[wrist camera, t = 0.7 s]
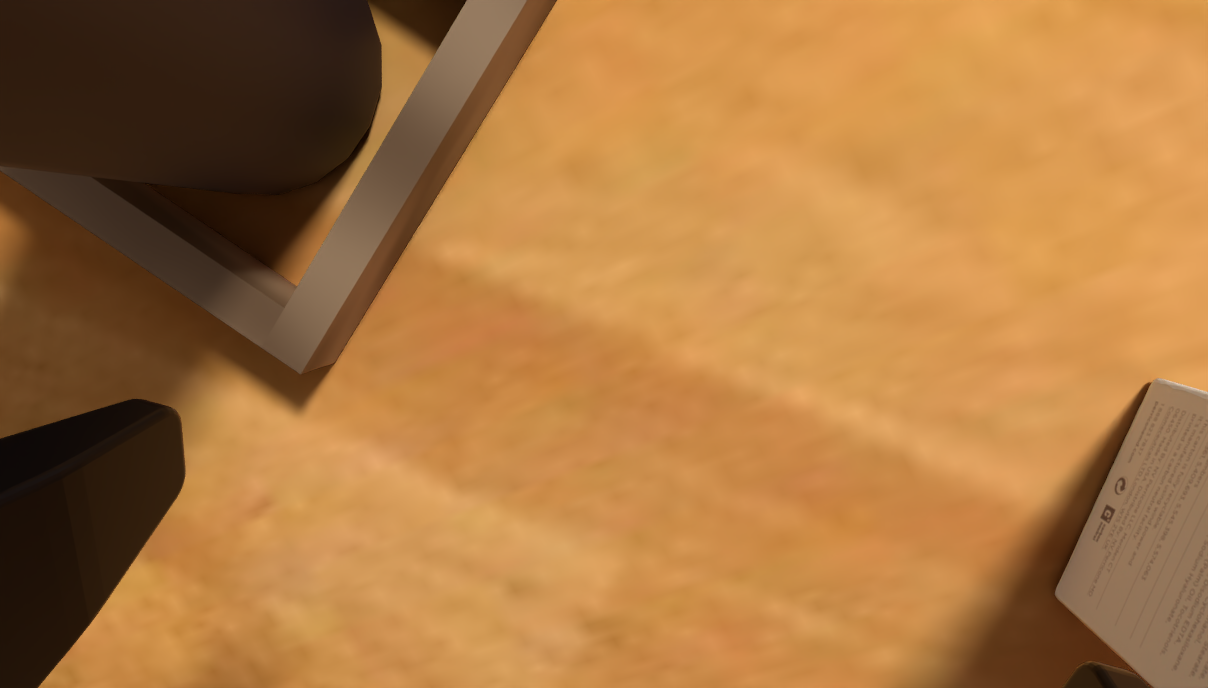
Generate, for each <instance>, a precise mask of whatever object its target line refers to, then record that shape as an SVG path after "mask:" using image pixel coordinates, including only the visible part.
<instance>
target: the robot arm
mask: <svg viewBox="0 0 1208 688" xmlns="http://www.w3.org/2000/svg"><path fill="white" fill-rule="evenodd" d="M184 479H185V458H184V447H183V436H182V424H181V418H180V416H179V414H178V412H177V411H176V410H174V409H173V408H171V407H168V406H165V405H161V404H158V403H154V402H150V401H147V400H142V399H131V400H127V401H124V402H120V403H117V404H114V405H111V406H107V407H104V408H101V409H97V410H94V411H91V412H87V413H84V414H81V415H77V416H74V417H71V418H67V419H64V420H61V421H57V422H54V423H51V424H47V425H44V426H41V427H37V428H34V429H31V430H28V431H24V432H21V433H18V434H14V435H11V436H8V437H4V438H1V439H0V688H38V687H39V686H40V684H41V683H42V682H43V681H44V680H45V678H46V677H47V676H48V675H49V674H50V672H51V671H52V670H53V669H54V668H55V666H56V665H57V664H58V663H59V662H60V660H61V659H62V658H63V657H64V656H65V654H66V653H67V652H68V651H69V650H70V648H71V647H72V646H73V645H74V644H75V642H76V641H77V640H78V639H79V637H80V636H81V635H82V634H83V632H84V631H85V630H86V628H87V627H88V626H89V625H90V623H91V622H92V621H93V619H94V618H95V617H96V615H97V614H98V612H99V611H100V610H101V608H102V607H103V605H104V604H105V603H106V601H107V600H108V598H109V597H110V595H111V594H112V592H113V591H114V589H115V588H116V587H117V585H118V584H119V582H120V581H121V579H122V578H123V576H124V575H125V573H126V572H127V570H128V569H129V567H130V566H131V564H132V563H133V561H134V560H135V559H136V557H137V556H138V554H139V553H140V551H141V550H142V548H143V547H144V545H145V544H146V542H147V541H148V539H149V538H150V536H151V535H152V533H153V532H154V531H155V529H156V528H157V526H158V525H159V523H160V522H161V520H162V519H163V517H164V516H165V514H166V513H167V511H168V510H169V508H170V507H171V506H172V504H173V503H174V501H175V500H176V498H177V496H178V495H179V493H180V491H181V489H182V486H183V483H184ZM1062 688H1150V687H1149V686H1148V685H1147V684H1146V683H1145V682H1144V681H1143V680H1142V679H1141V678H1140V677H1139V676H1138V675H1136V674H1134V673H1132V672H1130V671H1128V670H1125V669H1121V668H1117V667H1114V666H1110V665H1107V664H1103V663H1099V662H1095V661H1087V662H1084V663H1082V664H1080V665H1079V666H1078V667H1077V668H1076V669H1075V670H1074V672H1073V673H1072V675H1071V676H1070V677H1069V679H1068V680H1067V681H1066V683H1065V684H1064V685H1063V687H1062Z"/></svg>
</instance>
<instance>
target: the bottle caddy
mask: <svg viewBox="0 0 1208 688" xmlns="http://www.w3.org/2000/svg"><path fill="white" fill-rule="evenodd" d="M555 2H556V0H467V1H466V3H465V4H464V6H463V8H462V10H461V11H460V13H459V15H458V16H457V18H456V20H455V21H454V23H453V25H452V26H451V28H450V30H449V31H448V33H447V35H446V37H445V38H444V40H443V42H442V43H441V45H440V47H439V48H438V50H437V52H436V53H435V55H434V57H433V58H432V60H431V62H430V64H429V65H428V67H427V69H426V70H425V72H424V74H423V75H422V77H421V79H420V80H419V82H418V84H417V85H416V87H415V89H414V91H413V92H412V94H411V96H410V97H409V99H408V101H407V102H406V104H405V106H404V107H403V109H402V111H401V112H400V114H399V116H398V118H397V119H396V121H395V123H394V124H393V126H392V128H391V129H390V131H389V133H388V134H387V136H386V138H385V139H384V141H383V143H382V145H381V146H380V148H379V150H378V151H377V153H376V155H375V156H374V158H373V160H372V161H371V163H370V165H369V166H368V168H367V170H366V172H365V173H364V175H363V177H362V178H361V180H360V182H359V183H358V185H357V187H356V188H355V190H354V192H353V193H352V195H351V197H350V198H349V200H348V202H347V204H346V205H345V207H344V209H343V210H342V212H341V214H340V215H339V217H338V219H337V220H336V222H335V224H334V225H333V227H332V229H331V231H330V232H329V234H328V236H327V237H326V239H325V241H324V242H323V244H322V246H321V247H320V249H319V251H318V252H317V254H316V256H315V258H314V259H313V261H312V263H311V264H310V266H309V268H308V269H307V271H306V273H305V274H304V276H303V278H302V279H301V281H300V283H299V285H298V286H295V285H294V284H292V283H291V282H289V281H288V280H286V279H285V278H283V277H282V276H280V275H279V274H277V273H276V272H275V271H273V270H272V269H270V268H269V267H267V266H266V265H264V264H263V263H261V262H260V261H258V260H257V259H255V258H254V257H252V256H251V255H249V254H248V253H246V252H245V251H244V250H242V249H241V248H239V247H238V246H236V245H235V244H233V243H232V242H230V241H229V240H227V239H226V238H224V237H223V236H221V235H220V234H218V233H217V232H215V231H214V230H212V229H211V228H210V227H208V226H207V225H205V224H204V223H202V222H201V221H199V220H198V219H196V218H195V217H193V216H192V215H190V214H189V213H187V212H186V211H184V210H183V209H181V208H180V207H179V206H177V205H176V204H174V203H173V202H171V201H170V200H168V199H167V198H165V197H164V196H162V195H161V194H159V193H158V192H156V191H155V190H153V189H152V188H150V187H149V186H147V185H146V184H145V183H141V182H132V181H124V180H115V179H106V178H98V177H89V176H80V175H72V174H63V173H55V172H46V171H37V170H29V169H20V168H11V167H3V166H0V171H1V172H3V173H4V174H6V175H7V176H9V177H10V178H12V179H13V180H15V181H16V182H18V183H19V184H21V185H22V186H24V187H25V188H26V189H28V190H29V191H31V192H32V193H34V194H35V195H37V196H38V197H40V198H41V199H43V200H44V201H46V202H47V203H49V204H50V205H52V206H53V207H54V208H56V209H57V210H59V211H60V212H62V213H63V214H65V215H66V216H68V217H69V218H71V219H72V220H74V221H75V222H77V223H78V224H80V225H81V226H82V227H84V228H85V229H87V230H88V231H90V232H91V233H93V234H94V235H96V236H97V237H99V238H100V239H102V240H103V241H105V242H106V243H108V244H109V245H111V246H112V247H113V248H115V249H116V250H118V251H119V252H121V253H122V254H124V255H125V256H127V257H128V258H130V259H131V260H133V261H134V262H136V263H137V264H139V265H140V266H141V267H143V268H144V269H146V270H147V271H149V272H150V273H152V274H153V275H155V276H156V277H158V278H159V279H161V280H162V281H164V282H165V283H167V284H168V285H169V286H171V287H172V288H174V289H175V290H177V291H178V292H180V293H181V294H183V295H184V296H186V297H187V298H189V299H190V300H192V301H193V302H195V303H196V304H197V305H199V306H200V307H202V308H203V309H205V310H206V311H208V312H209V313H211V314H212V315H214V316H215V317H217V318H218V319H220V320H221V321H223V322H224V323H226V324H227V325H228V326H230V327H231V328H233V329H234V330H236V331H237V332H239V333H240V334H242V335H243V336H245V337H246V338H248V339H249V340H251V341H252V342H254V343H255V344H256V345H258V346H259V347H261V348H262V349H264V350H265V351H267V352H268V353H270V354H271V355H273V356H274V357H276V358H277V359H279V360H280V361H282V362H283V363H284V364H286V365H287V366H289V367H290V368H292V369H293V370H295V371H296V372H298V373H299V374H303V373H306V372H309V371H312V370H315V369H318V368H321V367H324V366H327V365H330V364H333V363H335V361H336V360H337V358H338V356H339V355H340V353H341V351H342V350H343V348H344V347H345V345H346V343H347V342H348V340H349V338H350V337H351V335H352V333H353V332H354V330H355V329H356V327H357V325H358V324H359V322H360V320H361V319H362V317H363V316H364V314H365V312H366V311H367V309H368V307H369V306H370V304H371V302H372V301H373V299H374V298H375V296H376V294H377V293H378V291H379V289H380V288H381V286H382V284H383V283H384V281H385V280H386V278H387V276H388V275H389V273H390V271H391V270H392V268H393V266H394V265H395V263H396V262H397V260H398V258H399V257H400V255H401V253H402V252H403V250H404V249H405V247H406V245H407V244H408V242H409V240H410V239H411V237H412V235H413V234H414V232H415V231H416V229H417V227H418V226H419V224H420V222H421V221H422V219H423V217H424V216H425V214H426V213H427V211H428V209H429V208H430V206H431V204H432V203H433V201H434V199H435V198H436V196H437V195H438V193H439V191H440V190H441V188H442V186H443V185H444V183H445V182H446V180H447V178H448V177H449V175H450V173H451V172H452V170H453V168H454V167H455V165H456V164H457V162H458V160H459V159H460V157H461V155H462V154H463V152H464V150H465V149H466V147H467V146H468V144H469V142H470V141H471V139H472V137H473V136H474V134H475V133H476V131H477V129H478V128H479V126H480V124H481V123H482V121H483V119H484V118H485V116H486V115H487V113H488V111H489V110H490V108H491V106H492V105H493V103H494V101H495V100H496V98H497V97H498V95H499V93H500V92H501V90H502V88H503V87H504V85H505V83H506V82H507V80H508V79H509V77H510V75H511V74H512V72H513V70H514V69H515V67H516V66H517V64H518V62H519V61H520V59H521V57H522V56H523V54H524V52H525V51H526V49H527V48H528V46H529V44H530V43H531V41H532V39H533V38H534V36H535V34H536V33H537V31H538V30H539V28H540V26H541V25H542V23H543V21H544V20H545V18H546V16H547V15H548V13H549V12H550V10H551V8H552V7H553V5H554V3H555Z"/></svg>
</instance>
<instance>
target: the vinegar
mask: <svg viewBox="0 0 1208 688" xmlns="http://www.w3.org/2000/svg"><path fill="white" fill-rule="evenodd" d="M381 88H382V60H381V42H380V39H379V36H378V33H377V30H376V26H375V23H374V20H373V17H372V14H371V10H370V7H369V4H368V1H367V0H0V166H3V167H11V168H20V169H29V170H37V171H46V172H55V173H63V174H72V175H80V176H89V177H98V178H106V179H115V180H124V181H132V182H141V183H150V184H158V185H167V186H175V187H184V188H193V189H201V190H210V191H219V192H227V193H236V194H265V195H279V194H282V193H285V192H288V191H291V190H294V189H297V188H300V187H304V186H307V185H310V184H313V183H315V182H317V181H319V180H320V179H321V178H323V177H324V176H325V175H327V174H328V173H329V172H331V171H332V170H333V169H335V168H336V167H337V166H338V165H340V164H341V163H342V162H344V161H345V160H346V159H348V158H349V156H350V155H351V153H352V152H353V150H354V149H355V147H356V146H357V144H358V143H359V141H360V140H361V138H362V137H363V136H364V134H365V133H366V131H367V130H368V128H369V127H370V125H371V121H372V118H373V115H374V111H375V108H376V104H377V101H378V98H379V94H380V91H381Z"/></svg>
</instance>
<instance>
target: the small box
mask: <svg viewBox="0 0 1208 688" xmlns="http://www.w3.org/2000/svg"><path fill="white" fill-rule="evenodd" d="M1055 596H1056V598H1057V599H1058V600H1059V601H1060V602H1061V603H1062V604H1063V605H1064V606H1065V607H1066V608H1067V609H1068V610H1069V611H1070V612H1072V613H1073V614H1074V615H1075V616H1076V617H1077V618H1078V619H1079V620H1080V621H1081V622H1082V623H1083V624H1084V625H1085V626H1086V627H1087V628H1088V629H1089V630H1091V631H1092V632H1093V633H1094V634H1095V635H1096V636H1097V637H1098V638H1099V639H1100V640H1101V641H1103V642H1104V643H1105V644H1106V645H1107V646H1108V647H1109V648H1110V649H1111V650H1112V651H1113V652H1115V653H1116V654H1117V655H1118V656H1119V657H1120V658H1121V659H1122V660H1124V661H1125V662H1126V663H1127V664H1128V665H1129V666H1130V667H1131V668H1132V669H1133V670H1134V671H1136V672H1137V673H1138V674H1139V675H1140V676H1141V677H1142V678H1143V679H1144V680H1145V681H1146V682H1147V683H1149V684H1150V685H1151V686H1152V687H1153V688H1208V392H1205V391H1202V390H1199V389H1196V388H1192V387H1189V386H1186V385H1182V384H1179V383H1175V382H1172V381H1168V380H1165V379H1160V378H1157V379H1155V380H1154V381H1153V382H1152V383H1151V385H1150V386H1149V389H1148V391H1147V393H1146V395H1145V397H1144V400H1143V402H1142V404H1141V405H1140V407H1139V409H1138V412H1137V414H1136V416H1135V418H1134V420H1133V423H1132V425H1131V427H1130V429H1129V431H1128V433H1127V435H1126V437H1125V439H1124V441H1123V444H1122V446H1121V448H1120V451H1119V453H1118V455H1117V457H1116V459H1115V461H1114V464H1113V466H1112V468H1111V470H1110V472H1109V474H1108V477H1107V479H1106V481H1105V483H1104V485H1103V487H1102V490H1101V492H1100V494H1099V496H1098V498H1097V500H1096V502H1095V505H1094V507H1093V509H1092V511H1091V514H1090V516H1089V518H1088V520H1087V522H1086V524H1085V526H1084V528H1083V531H1082V533H1081V535H1080V538H1079V540H1078V542H1077V544H1076V547H1075V549H1074V551H1073V553H1072V555H1071V558H1070V560H1069V562H1068V564H1067V566H1066V568H1065V571H1064V573H1063V575H1062V577H1061V579H1060V581H1059V583H1058V585H1057V588H1056V591H1055Z"/></svg>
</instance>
